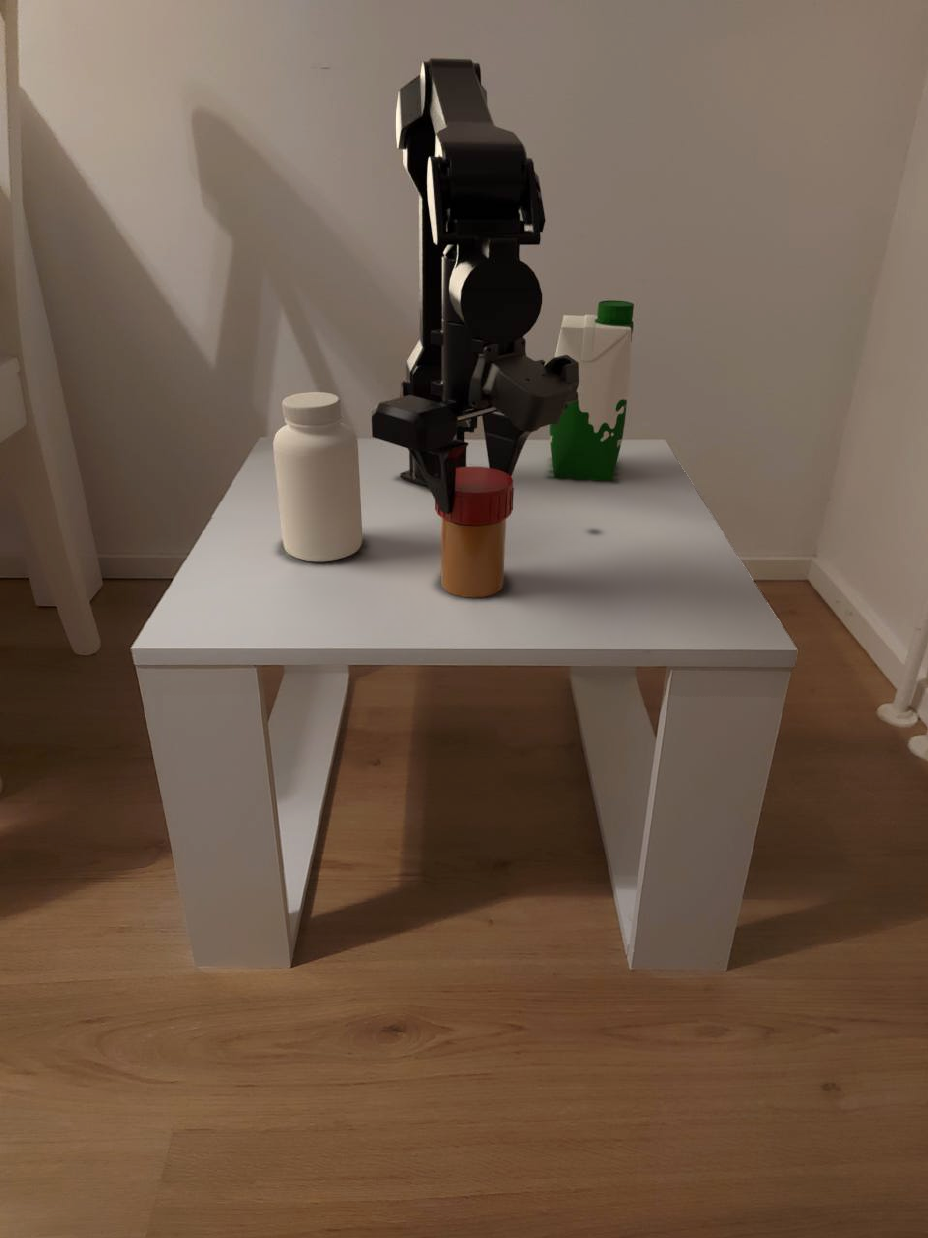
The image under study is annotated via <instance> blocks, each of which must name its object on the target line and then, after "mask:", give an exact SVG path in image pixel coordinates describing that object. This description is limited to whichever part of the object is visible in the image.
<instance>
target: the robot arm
mask: <svg viewBox="0 0 928 1238" xmlns="http://www.w3.org/2000/svg"><path fill="white" fill-rule="evenodd" d="M395 110H396V112H395V134H396V135H395V137H396V147H397V150H402V160H403V161H402V162H403V163H402V165H403V167H404V169H405V171H406V174H407V175H408V177H409V179H410V180H411V182H412V184H413V186H414V188H415V190H416V192H417V194H418V264H419V265H418V266H419V267H418V271H419V274H418V275H419V276H418V277H419V279H418V281H419V282H418V283H419V284H418V286H419V291H418V292H419V340H418V341H417V343H416V345H415V347H414V348H413V350H412V352H411V353H410V355H409V357H408V358H407V360H406V363H405V380H401V381H400V389H399V397H396V398H391V399H387V400H383V401H380V402H378V404H377V405H376V406H375V407H374V409H373V410H372V411H371V435H372V438H373V439H376V440H380V441H383V442H387V443H389V444H393V445H396V446H398V447H401V448H405V449H407V451H408V462H409V463H408V464H409V465H408V466H409V468H408V470H405V471H403V472H400V473H399V478H400V479H403V480H405V481H409V482H412V483H414V484H417V485H420V486H423V487H426V488H429V490H430V492H431V494H432V497H433V499H434V502H435V501H436V503H437V505H438V507H439V509H440V511H441V512H443V513H446V514H450V513H452V511H453V504H454V497H455V480H456V468H459V467H467V447H468V446H469V442H466V441H465V433H469V434H470V433H473V434H474V433H475V429H478V418H479V417H481V420H482V425H483V432H484V440H485V446H486V447H485V448H486V455H487V461H488V468H492V469H497V470H500V471H503V472H505V473H507V474H509V475H510V476H511V477H512V476H513V473H514V471H515V469H516V466H517V463H518V461H519V459H520V456H521V453H522V450H523V448H524V446H525V444H526V442H527V440H528V438H529V436H530V435H531V434H532V433H533V432H537V431H539V429H541V428H543V427H546V426H550V424H552V425H556V424H558V423H559V421H560V418H561V416H562V413H563V411H564V409H567V407H568V403H572V402H575V401H577V400H578V397H579V396H578V392H577V389H578V386H579V363H578V362H577V361H576V360H574V359H573V358H571V357H570V356H568V355H563V356H559V357H555V356H554V357H553V358H551V359H550V360H549V361H548V362H547V363H546V361H545V360H544V359H537V360H534V359H532V358H530V357H529V356H527V352H526V343H527V341H526V338H524V336H525V335H527V334H528V333H529V332H530V331H531V330H532V329H533V328H534V326H535V325H536V323H537V322H538V319H539V316H540V314H541V312H542V306H543V291H542V288H541V285H540V284H541V283H540V280H539V279H538V277H537V275H536V273H535V272H534V270H533V269H532V268H531V267H530V265H528V264H527V263H525V262H524V261H522V260H521V257H520V254H521V251H520V249H521V246H540V244H541V239H542V237H541V233H543V232H544V229H545V224H546V221H547V220H546V215H545V214H546V213H545V208H544V203H543V196H542V188H541V183H540V178H539V175H538V174H537V172H536V170H535V164H534V160H533V159H532V158H531V157H528V156H527V155H528V154H527V150H526V147H525V145H524V143H523V142H522V141H521V140H520V138H519V137H518V136H517V134H516V133H515V132H513V131H511V130H509V129H508V130H507V129H504V128H501V127H499V126H496V125H495V123H494V120H493V117H492V114H491V111H490V109H489V106H488V91H487V89H486V88H485V87H484V86H483V84H482V70H481V64H480V63H479V62H474V61H473V60H472V59H471V58H445V57H443V58H441V57H440V58H439V57H431V58H430V59H428V61H425V60H424V61H422V63H421V68H420V73H419V74H418V75H416V76H415V77H414V78H413V79H412V80H410V81H409V82H408V83H406V84H405V85H404V86H402V87H401V88H400V89H399V90H398V95H397V103H396V109H395ZM521 219H522V220H521ZM512 478H513V477H512Z"/></svg>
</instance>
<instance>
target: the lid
mask: <svg viewBox="0 0 928 1238" xmlns="http://www.w3.org/2000/svg"><path fill="white" fill-rule="evenodd" d="M514 491H515V487H514V479H513V477H511V476H510V475H509V474H507V473H505V472H503V471H500V470H497V469H492V468H489V467H485V466H466V467H459V468H456V480H455V497H454V504H453V511H452V513H450V514H446V513H443V512H441V511H440V509H439V507H438V505H437V503H436V501H435V500H434V510H435V513H436V514H437V516H439V517H440V518H441V517H442V518H443V519H445V520H448V521H451V522H455V523H460V524H468V525H483V524H491V523H496V522H499V521H502V520H504V519H506V520H507V519H508V518H509V517H511V515H512V513H513V510H514V493H515V492H514Z"/></svg>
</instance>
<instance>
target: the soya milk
mask: <svg viewBox="0 0 928 1238" xmlns="http://www.w3.org/2000/svg"><path fill="white" fill-rule="evenodd" d="M634 308H635V304H634V303H633V302H630V301H627V300H626V301H625V300H613V299H612V300H610V299H609V300H601V301H598V306H597V315H595V314H585V315H572V314H571V315H570V314H564V315H563V317H562V322H561V326H560V331H559V335H558V339H557V345H556V350H555V353H554V358H555V357H559V356H563V355H568V356H570V357H571V358H573V359H574V360H576V361H577V362H578V363H579V386H578V389H577V392H578V396H579V397H578V400H577V401H575V402H572V403H568V407H567V409H564V411H563V413H562V416H561V418H560V421H559V423H558V424H556V425H552V424H550V425H549V443H550V453H551V463H552V472H553V478H555V479H570V480H571V479H572V480H585V481H601V482H613V479H614V476H615V471H616V467H617V463H618V460H619V456H620V451H621V447H622V442H623V438H624V437H623V436H624V430H625V425H626V415H627V408H628V396H629V388H630V378H631V364H632V342H633V332H634V321H633V318H634Z"/></svg>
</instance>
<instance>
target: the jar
mask: <svg viewBox="0 0 928 1238" xmlns="http://www.w3.org/2000/svg"><path fill="white" fill-rule="evenodd" d="M440 521H441V522H440V551H441V552H440V584H441V588H442V589H443V590H445V591H446V592H448V593H449V594H452V595H454V596H456V597H457V596H458V597H463V598H473V599H476V598H485V597H489V596H492V595H495V594H497V593H498V592H499V591H501V590H502V589H503V587H504V581H505V580H504V579H505V577H504V576H505V555H506V553H505V552H506V532H507V531H506V530H507V529H506V528H507V518H506V519H504V520H502V521H499V522H496V523H491V524H483V525H468V524H460V523H455V522H451V521H448V520H445V519H443V518H442V517H440Z"/></svg>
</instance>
